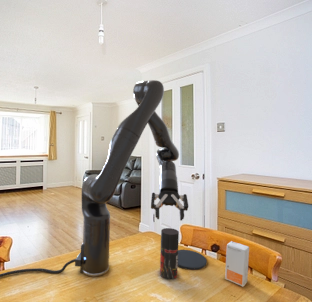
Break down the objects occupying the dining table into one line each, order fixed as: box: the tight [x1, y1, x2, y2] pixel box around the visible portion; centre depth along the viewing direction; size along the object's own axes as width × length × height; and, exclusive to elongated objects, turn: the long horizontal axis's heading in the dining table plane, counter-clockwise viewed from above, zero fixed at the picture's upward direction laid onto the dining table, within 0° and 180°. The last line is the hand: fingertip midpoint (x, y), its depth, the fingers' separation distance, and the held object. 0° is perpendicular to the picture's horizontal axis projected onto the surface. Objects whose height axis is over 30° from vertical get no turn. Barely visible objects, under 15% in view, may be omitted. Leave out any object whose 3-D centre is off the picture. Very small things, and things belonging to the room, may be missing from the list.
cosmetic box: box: [224, 240, 250, 288], centre depth 75 cm, size 6×4×12 cm
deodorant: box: [159, 227, 180, 280], centre depth 77 cm, size 6×6×15 cm
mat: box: [178, 249, 208, 271], centre depth 88 cm, size 14×14×1 cm
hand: (169, 218), depth 83 cm, fingers open, 8 cm apart
